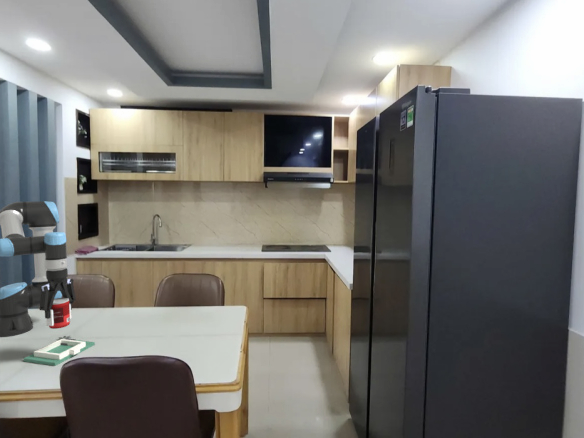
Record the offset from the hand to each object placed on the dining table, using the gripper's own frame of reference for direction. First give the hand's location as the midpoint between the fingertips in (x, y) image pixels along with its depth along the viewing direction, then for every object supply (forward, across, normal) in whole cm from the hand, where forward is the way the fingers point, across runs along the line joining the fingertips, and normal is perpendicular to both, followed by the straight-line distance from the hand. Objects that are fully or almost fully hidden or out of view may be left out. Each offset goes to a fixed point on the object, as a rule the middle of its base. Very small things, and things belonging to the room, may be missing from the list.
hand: (59, 321), depth 147 cm
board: (+14, +1, +1) cm, 14 cm away
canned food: (+2, 0, 0) cm, 2 cm away
